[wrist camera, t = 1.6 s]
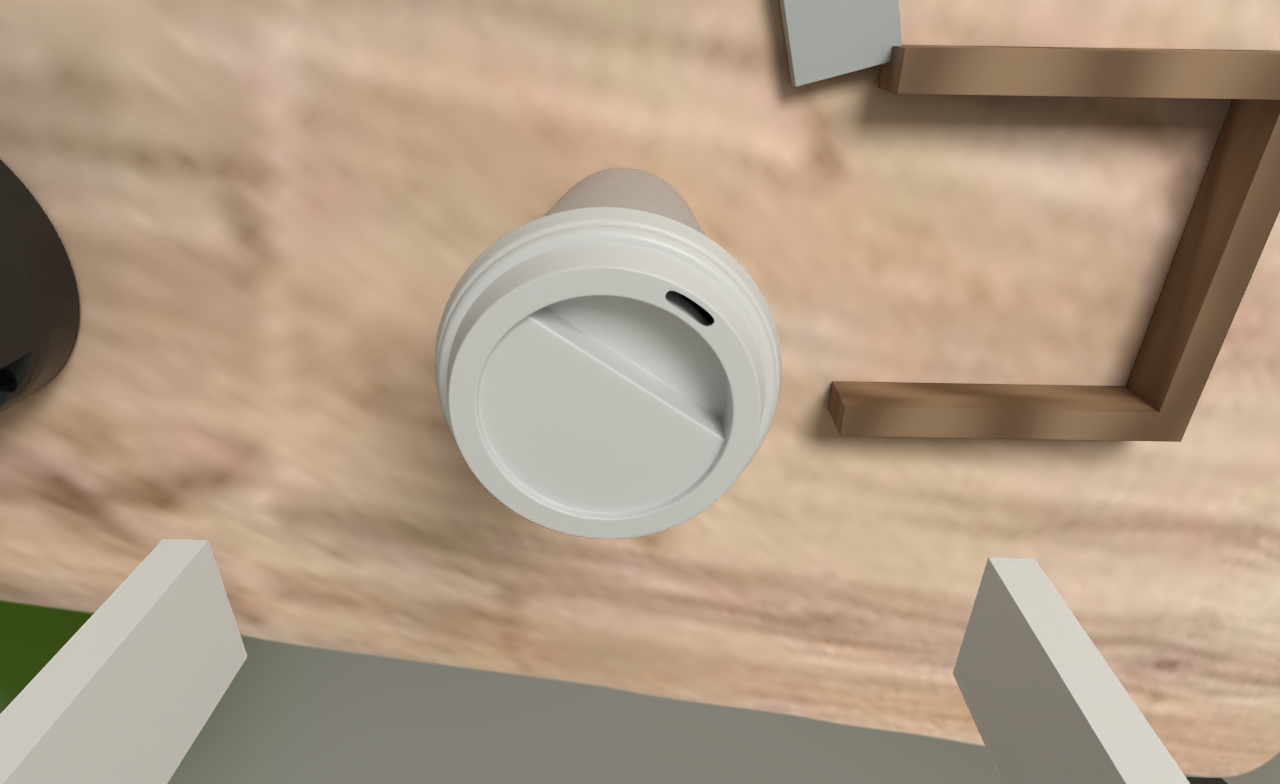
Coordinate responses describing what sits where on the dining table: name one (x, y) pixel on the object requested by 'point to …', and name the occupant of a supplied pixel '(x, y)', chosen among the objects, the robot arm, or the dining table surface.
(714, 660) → the dining table surface
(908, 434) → the bracket
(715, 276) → the coffee cup
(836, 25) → the slate tile
